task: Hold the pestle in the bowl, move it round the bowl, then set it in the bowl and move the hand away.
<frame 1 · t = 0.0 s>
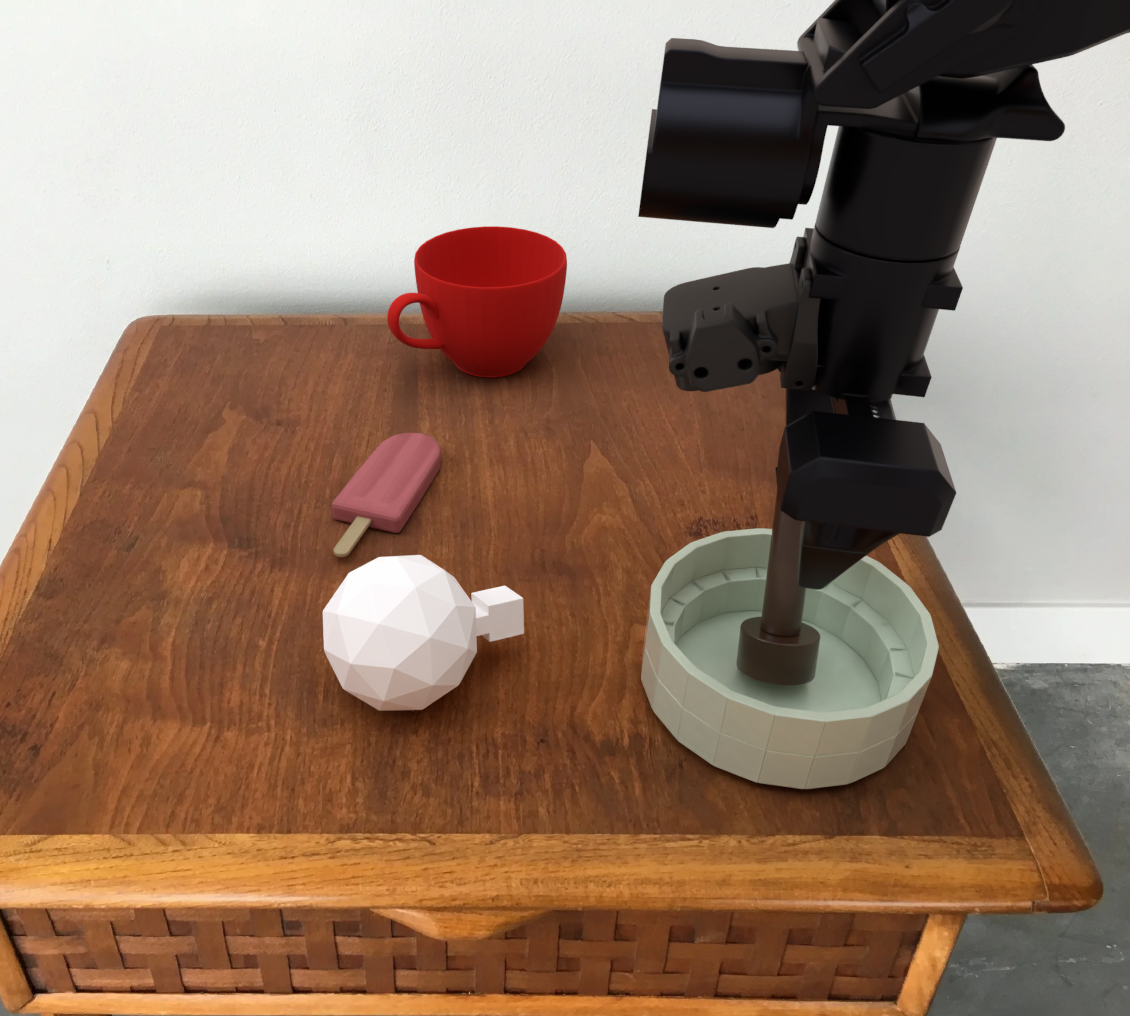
hand: (801, 525, 52), 13 cm above the table, tool pointing down, fingers open, 9 cm apart
perfume bottle: (428, 684, 61), on the table
bowl: (771, 688, 60), on the table
ceramic cup: (472, 368, 91), on the table
pestle: (775, 669, 59), point 1 cm above the table, tilted 22°, touching bowl, gripper
popsicle: (383, 504, 75), on the table
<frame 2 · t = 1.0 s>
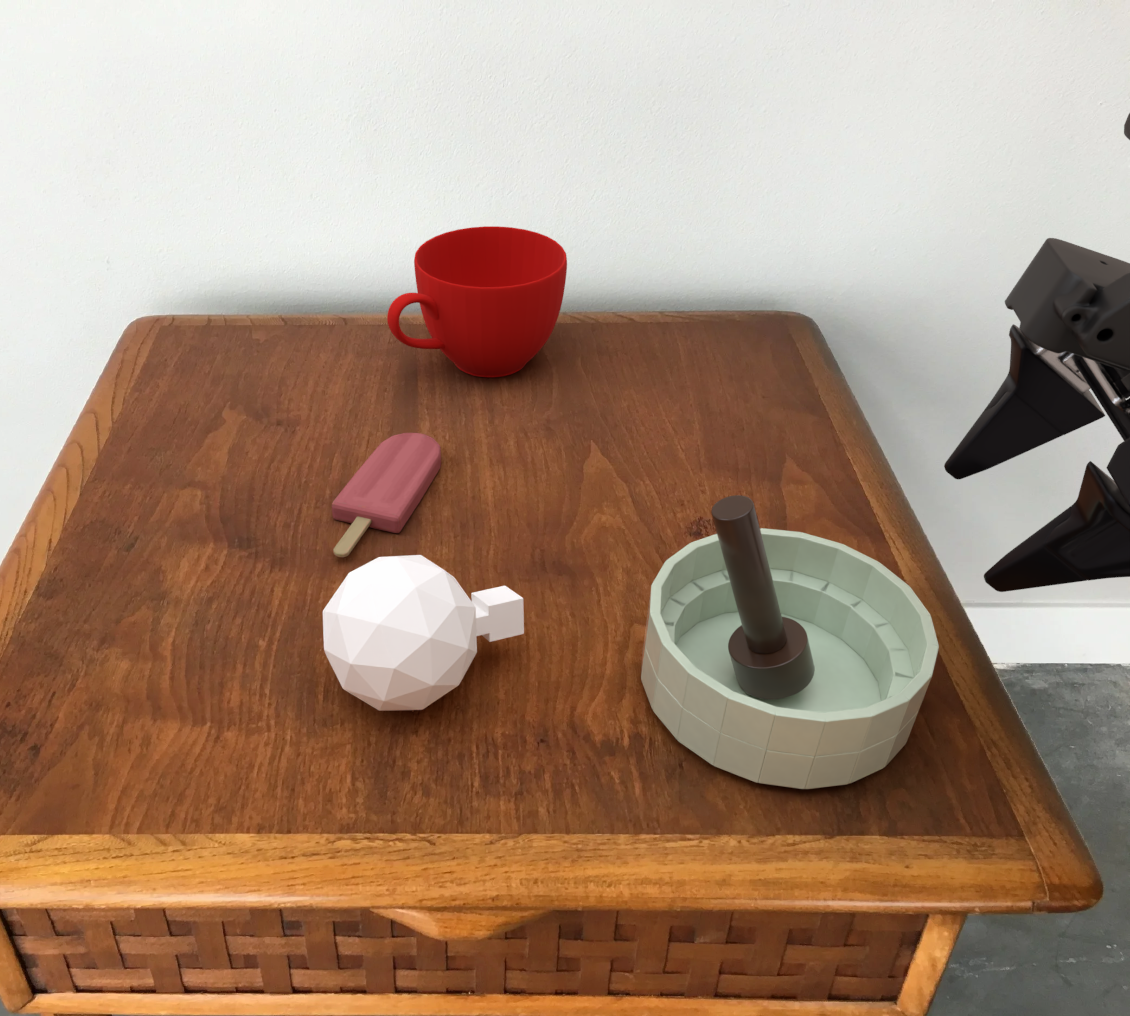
hand: (968, 524, 50), 13 cm above the table, tool tilted 35°, fingers open, 9 cm apart
pestle: (775, 672, 59), point 1 cm above the table, tilted 20°, touching bowl
everything else where it was.
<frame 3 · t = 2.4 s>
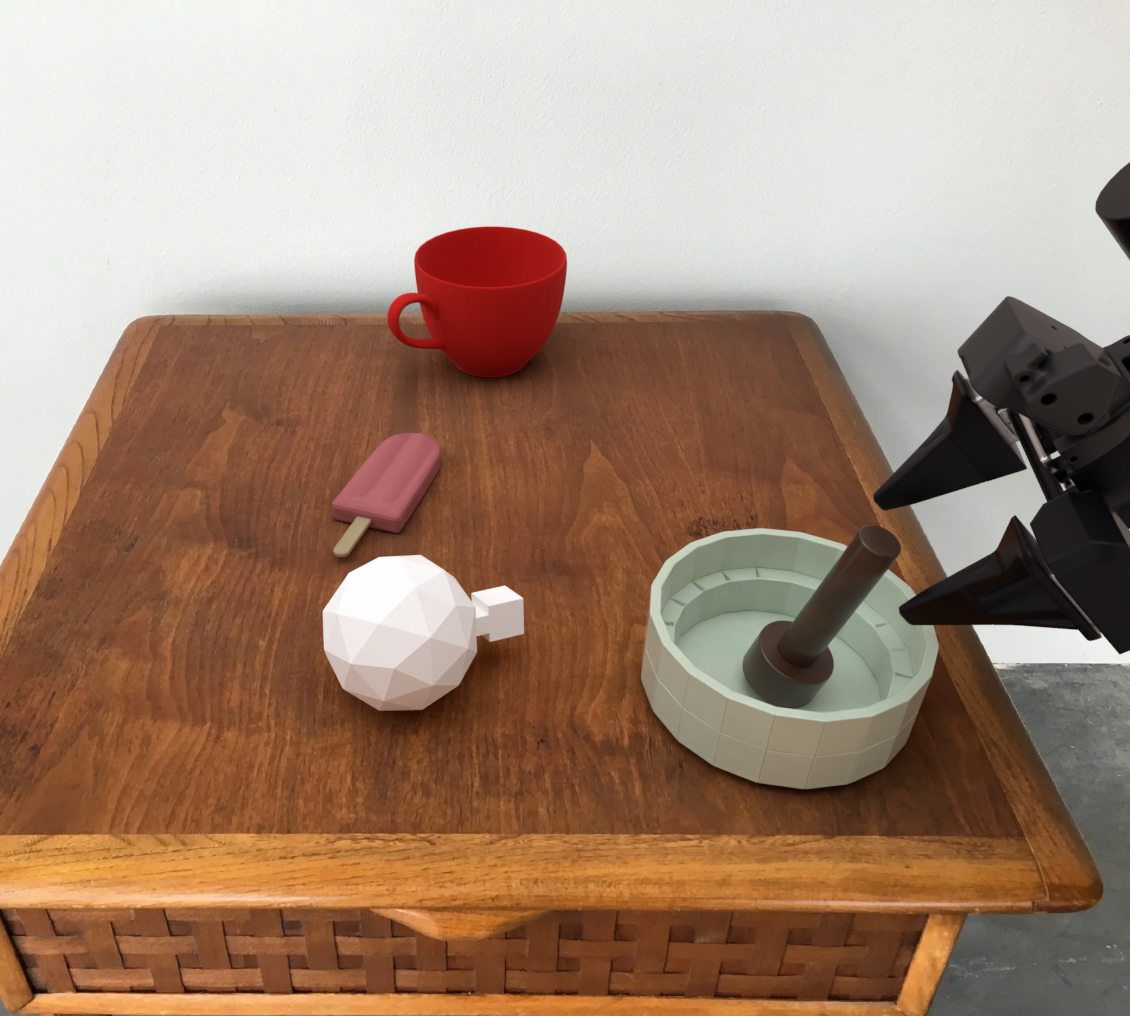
hand: (889, 556, 52), 11 cm above the table, tool tilted 45°, fingers open, 9 cm apart
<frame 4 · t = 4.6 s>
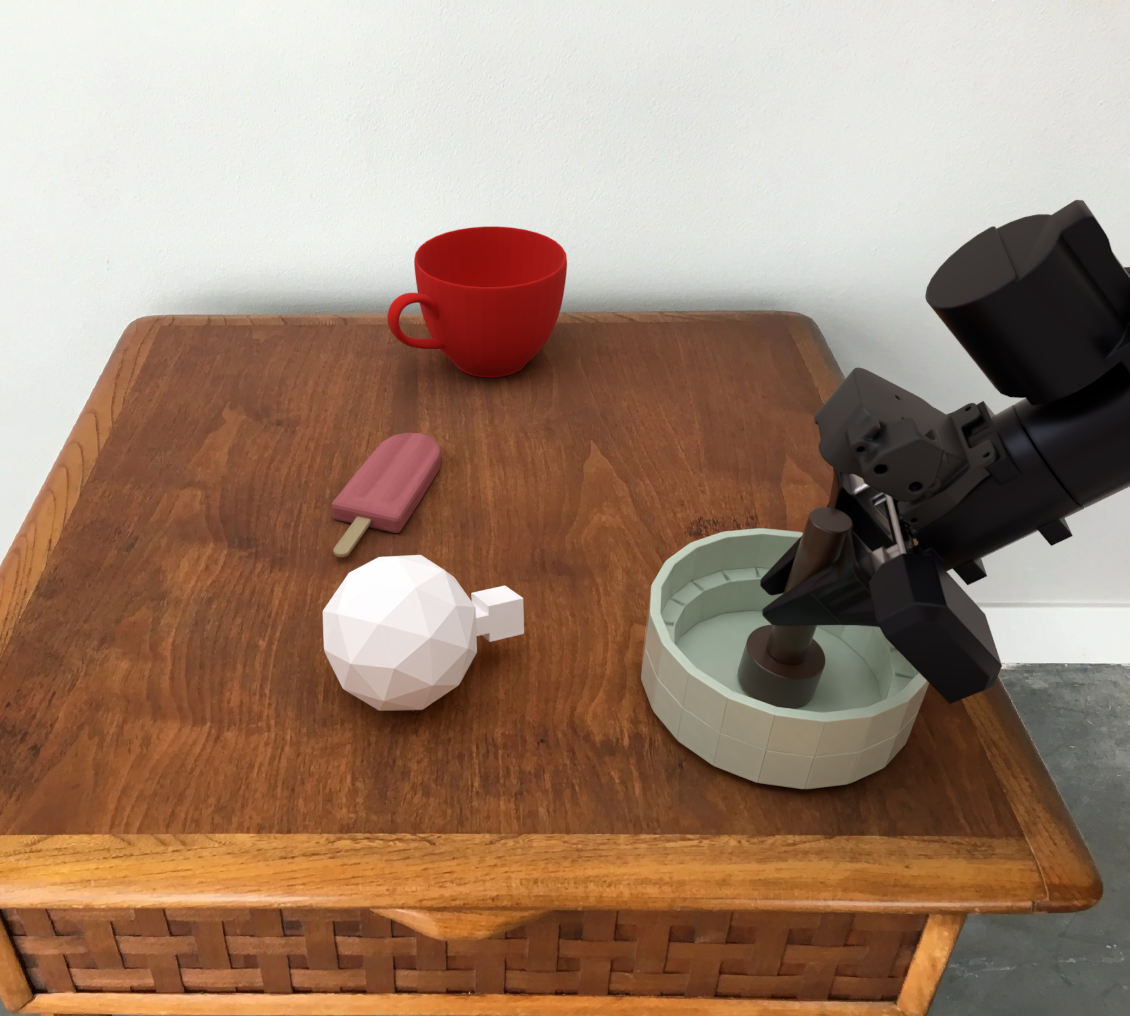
hand: (765, 603, 56), 7 cm above the table, tool tilted 45°, fingers closed on pestle, 2 cm apart
pestle: (775, 681, 59), point 1 cm above the table, touching bowl, gripper
everything else where it was.
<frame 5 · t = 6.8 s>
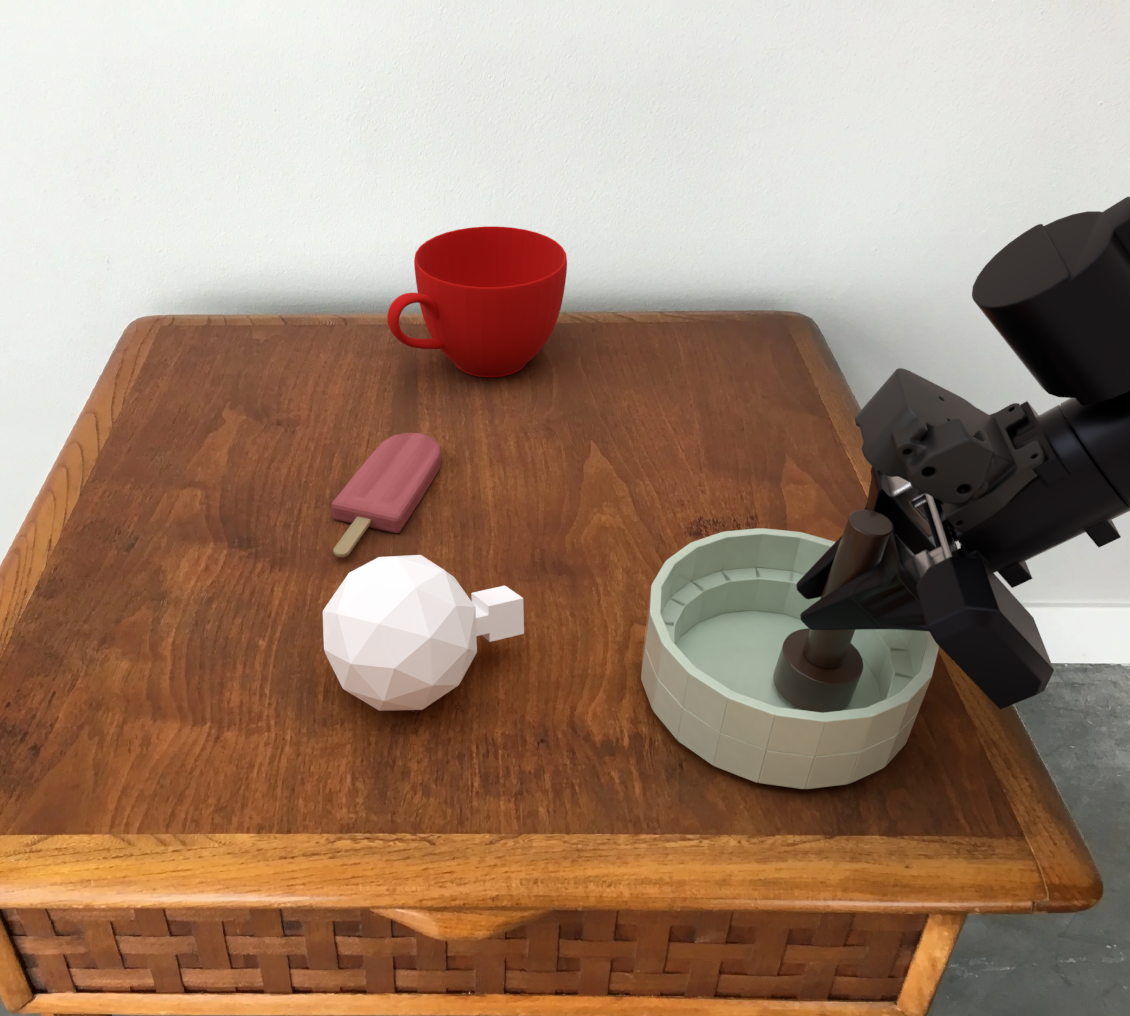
hand: (802, 607, 55), 7 cm above the table, tool tilted 45°, fingers closed on pestle, 2 cm apart
pestle: (811, 685, 58), point 1 cm above the table, touching gripper
everything else where it was.
when the fingers open (7 cm above the table, at t = 8.9 s): pestle stays where it is, resting on bowl.
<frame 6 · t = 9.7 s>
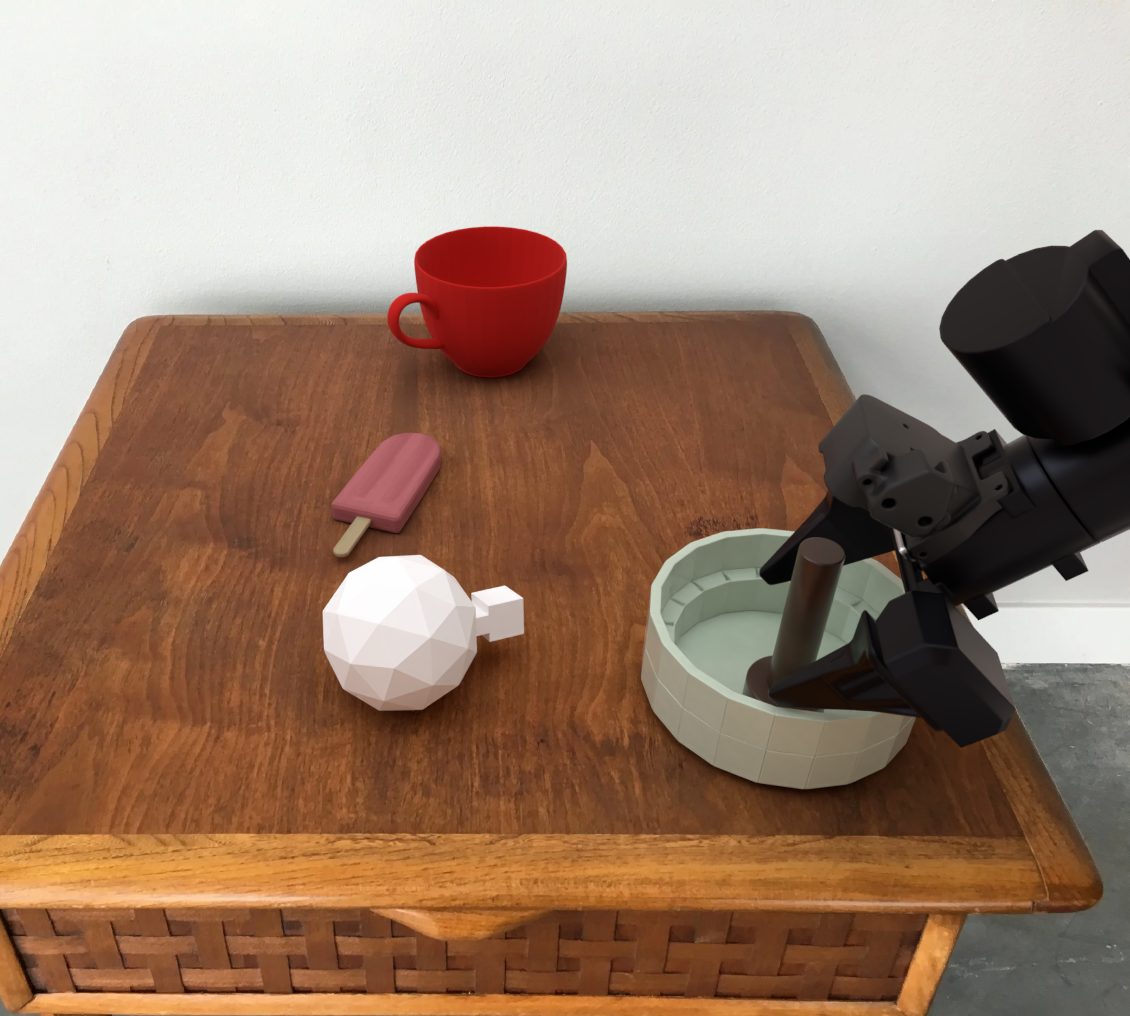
hand: (767, 634, 54), 7 cm above the table, tool tilted 45°, fingers open, 9 cm apart
pestle: (779, 713, 57), point 1 cm above the table, touching bowl
everything else where it was.
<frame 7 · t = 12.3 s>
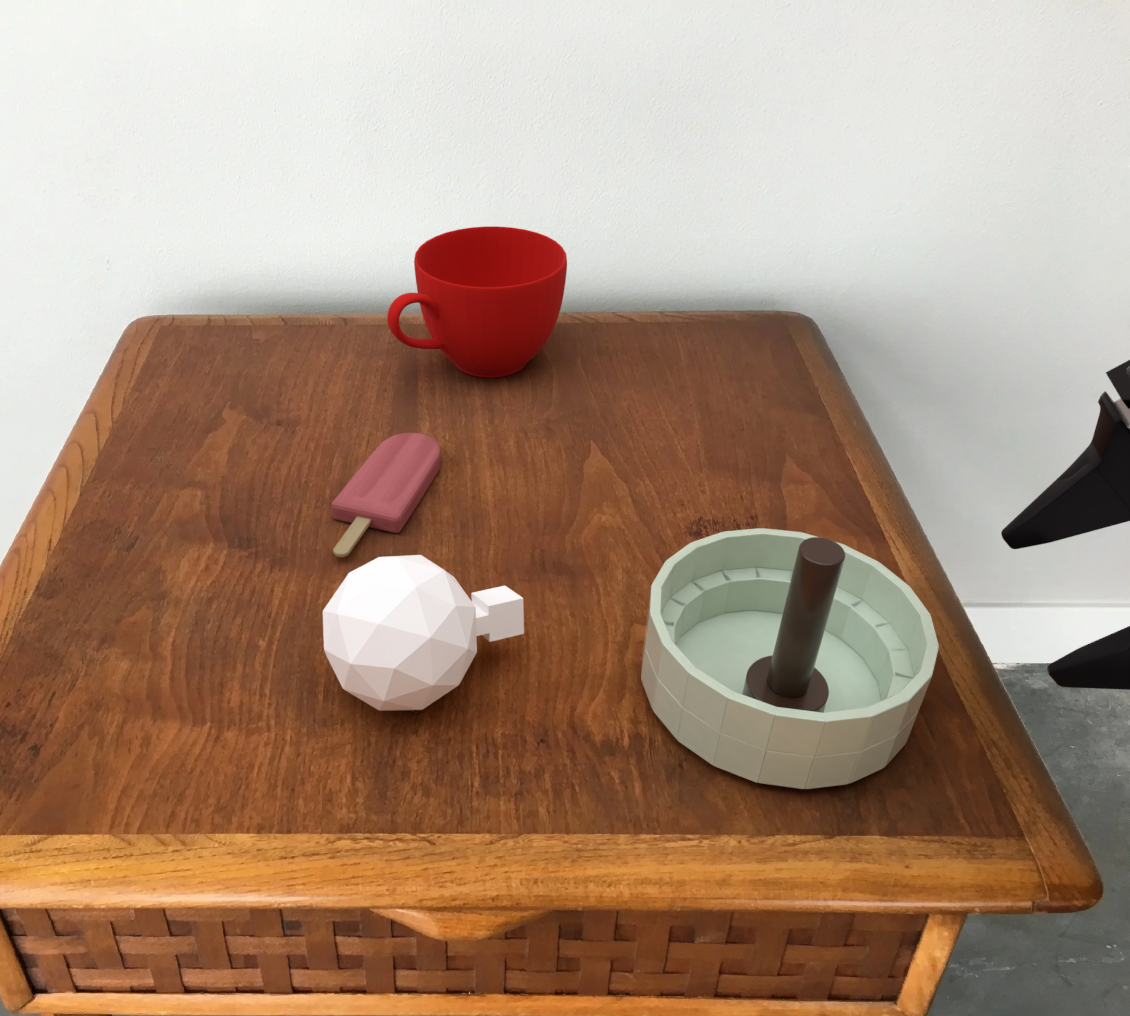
hand: (1027, 603, 46), 13 cm above the table, tool tilted 45°, fingers open, 9 cm apart
nothing on the table moved.
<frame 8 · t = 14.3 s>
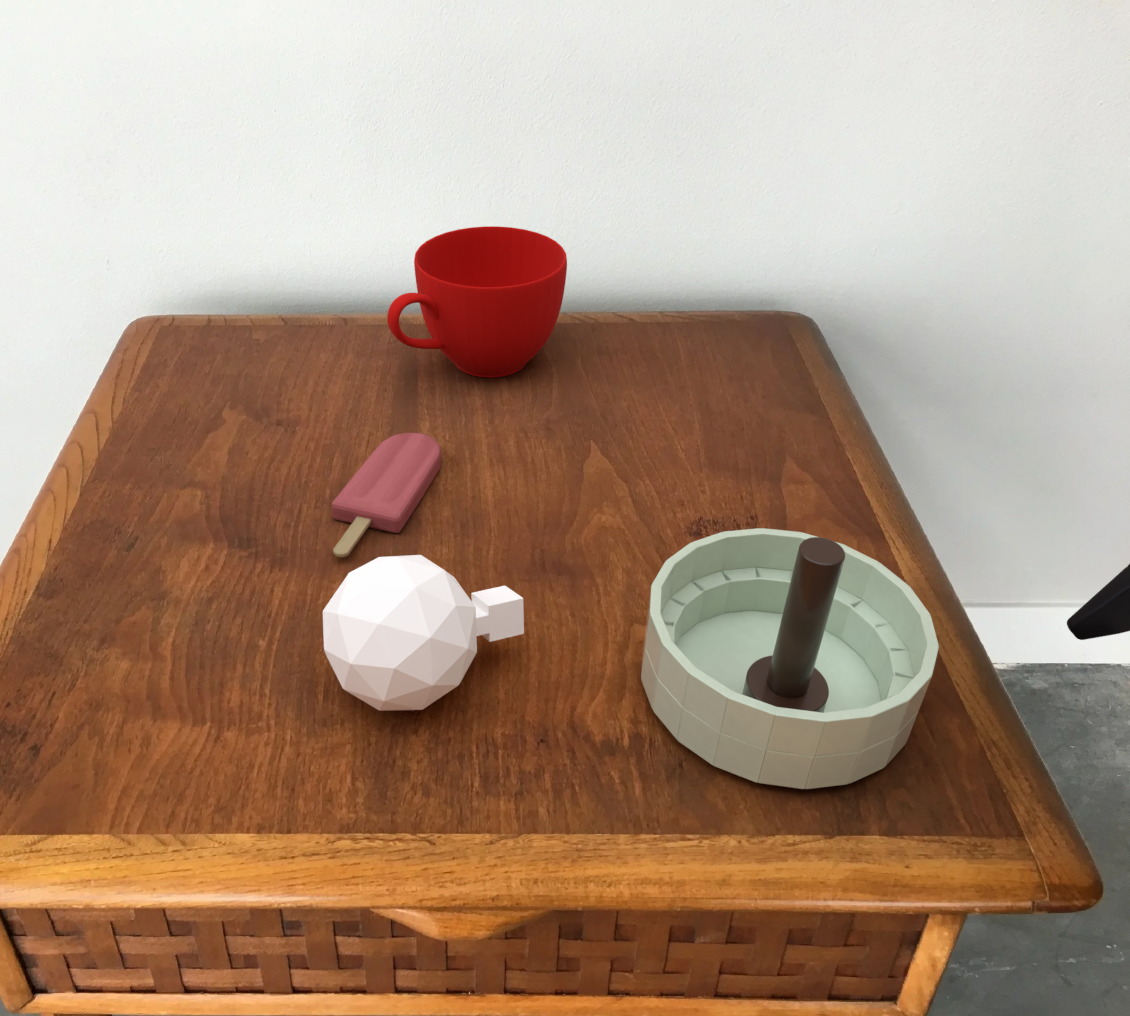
hand: (1103, 708, 42), 13 cm above the table, tool tilted 45°, fingers open, 9 cm apart
nothing on the table moved.
at the end: pestle inside the target area in the bowl (2.5 cm from its centre), point 0.6 cm above the bowl's base; pestle moved 2.5 cm from its start; ceramic cup moved 0.2 cm from its start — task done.
